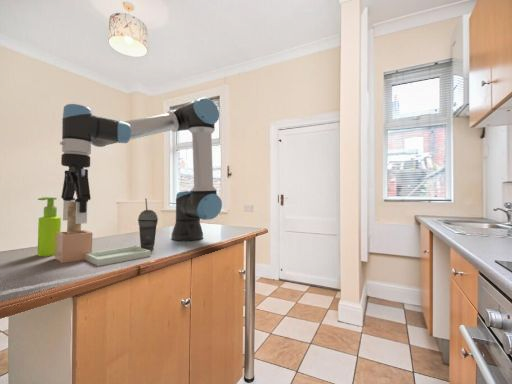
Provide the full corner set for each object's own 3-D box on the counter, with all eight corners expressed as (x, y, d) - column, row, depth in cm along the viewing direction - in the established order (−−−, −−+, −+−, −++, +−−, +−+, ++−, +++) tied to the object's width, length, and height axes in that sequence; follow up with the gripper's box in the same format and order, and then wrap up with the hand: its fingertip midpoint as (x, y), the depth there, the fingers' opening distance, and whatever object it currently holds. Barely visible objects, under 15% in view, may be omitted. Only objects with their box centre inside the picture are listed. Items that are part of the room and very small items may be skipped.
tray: (135, 253, 92) (135, 245, 92) (150, 258, 85) (150, 250, 85) (84, 261, 79) (84, 253, 79) (97, 268, 72) (97, 259, 72)
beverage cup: (149, 252, 94) (151, 198, 94) (132, 250, 95) (134, 198, 95) (161, 248, 101) (162, 198, 101) (144, 247, 102) (146, 198, 103)
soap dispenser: (29, 259, 81) (31, 197, 81) (47, 254, 88) (49, 197, 88) (47, 259, 81) (49, 197, 81) (64, 254, 88) (65, 197, 88)
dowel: (78, 256, 82) (79, 201, 83) (81, 258, 80) (83, 202, 80) (64, 258, 80) (66, 201, 80) (68, 260, 77) (69, 202, 78)
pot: (83, 256, 85) (84, 230, 86) (91, 260, 81) (92, 232, 81) (54, 260, 79) (55, 232, 79) (61, 265, 74) (62, 235, 75)
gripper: (51, 155, 85) (49, 219, 85) (74, 148, 70) (72, 226, 70) (77, 158, 91) (75, 218, 91) (104, 152, 76) (102, 224, 75)
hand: (74, 221), depth 80 cm, fingers open, 12 cm apart
